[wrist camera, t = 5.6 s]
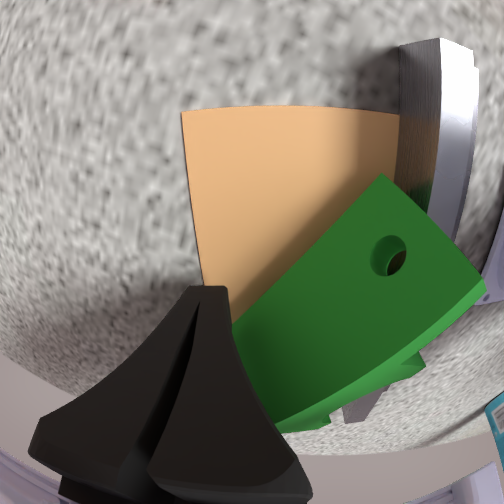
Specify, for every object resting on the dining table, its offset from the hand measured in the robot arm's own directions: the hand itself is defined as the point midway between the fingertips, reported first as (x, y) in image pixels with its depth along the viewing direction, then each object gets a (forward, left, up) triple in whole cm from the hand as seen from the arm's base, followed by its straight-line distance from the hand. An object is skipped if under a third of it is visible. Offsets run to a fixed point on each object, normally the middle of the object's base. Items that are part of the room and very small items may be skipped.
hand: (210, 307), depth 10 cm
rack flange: (-5, 0, -1) cm, 5 cm away
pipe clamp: (-3, +1, -1) cm, 3 cm away
